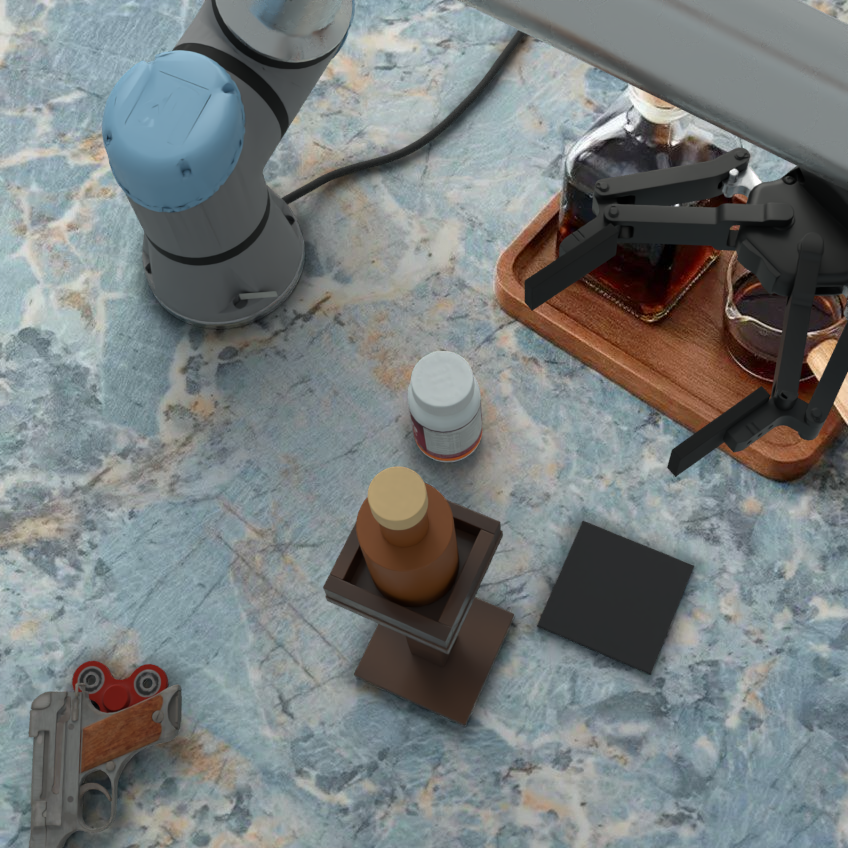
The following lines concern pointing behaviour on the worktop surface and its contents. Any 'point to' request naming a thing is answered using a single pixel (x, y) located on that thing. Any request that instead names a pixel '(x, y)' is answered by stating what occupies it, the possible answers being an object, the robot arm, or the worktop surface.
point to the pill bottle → (445, 407)
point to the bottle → (408, 538)
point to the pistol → (87, 754)
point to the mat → (616, 597)
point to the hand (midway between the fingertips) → (597, 377)
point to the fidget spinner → (119, 685)
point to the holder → (429, 625)
